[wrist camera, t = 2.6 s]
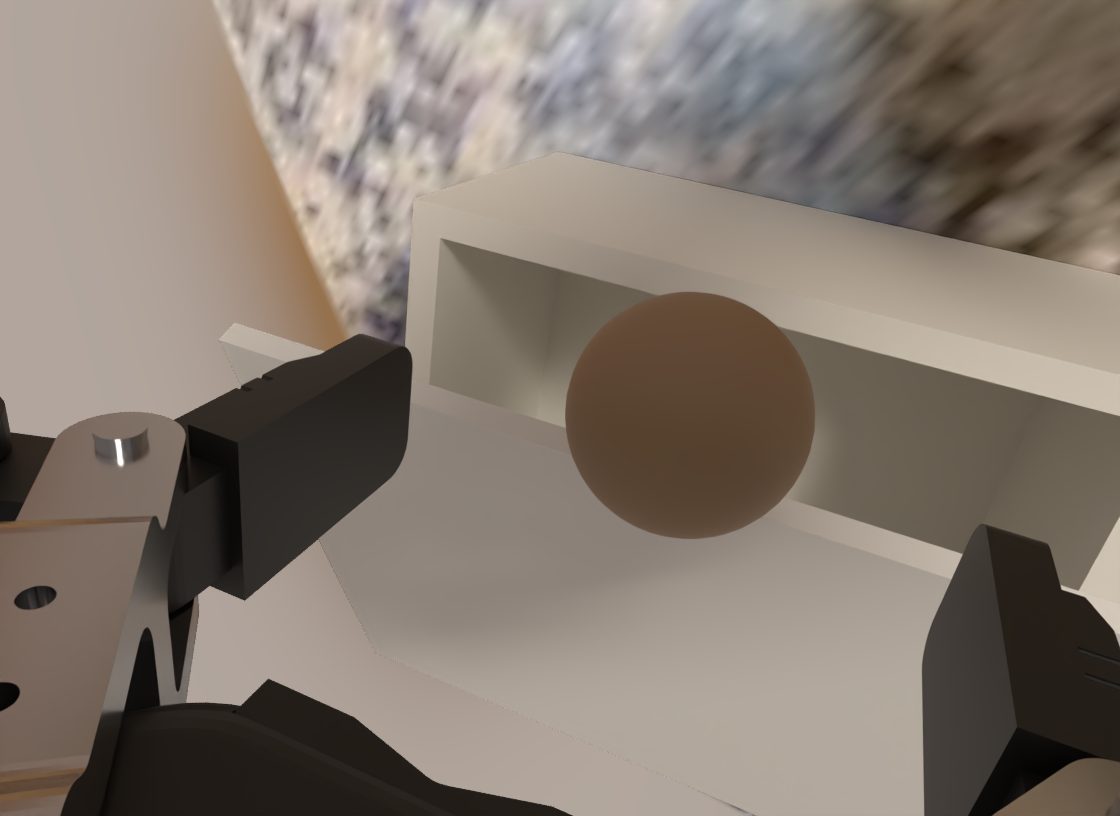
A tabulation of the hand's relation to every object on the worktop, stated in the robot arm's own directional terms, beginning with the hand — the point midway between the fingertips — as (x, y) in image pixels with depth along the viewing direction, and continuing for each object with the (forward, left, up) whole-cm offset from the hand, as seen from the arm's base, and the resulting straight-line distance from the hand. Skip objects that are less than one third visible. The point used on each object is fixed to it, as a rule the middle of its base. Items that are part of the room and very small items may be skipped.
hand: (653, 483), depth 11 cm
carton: (+9, 0, -24) cm, 26 cm away
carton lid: (+8, 0, -8) cm, 11 cm away
